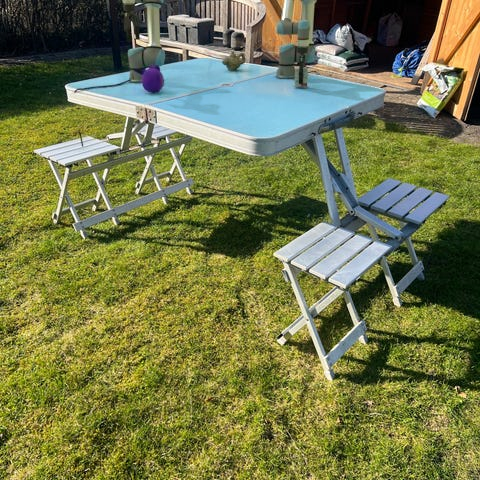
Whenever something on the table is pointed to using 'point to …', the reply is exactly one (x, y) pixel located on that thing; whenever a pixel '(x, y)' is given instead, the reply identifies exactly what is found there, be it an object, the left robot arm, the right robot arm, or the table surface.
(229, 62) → the teapot
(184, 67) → the table surface
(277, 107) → the table surface
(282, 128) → the table surface
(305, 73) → the ink box
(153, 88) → the toy
